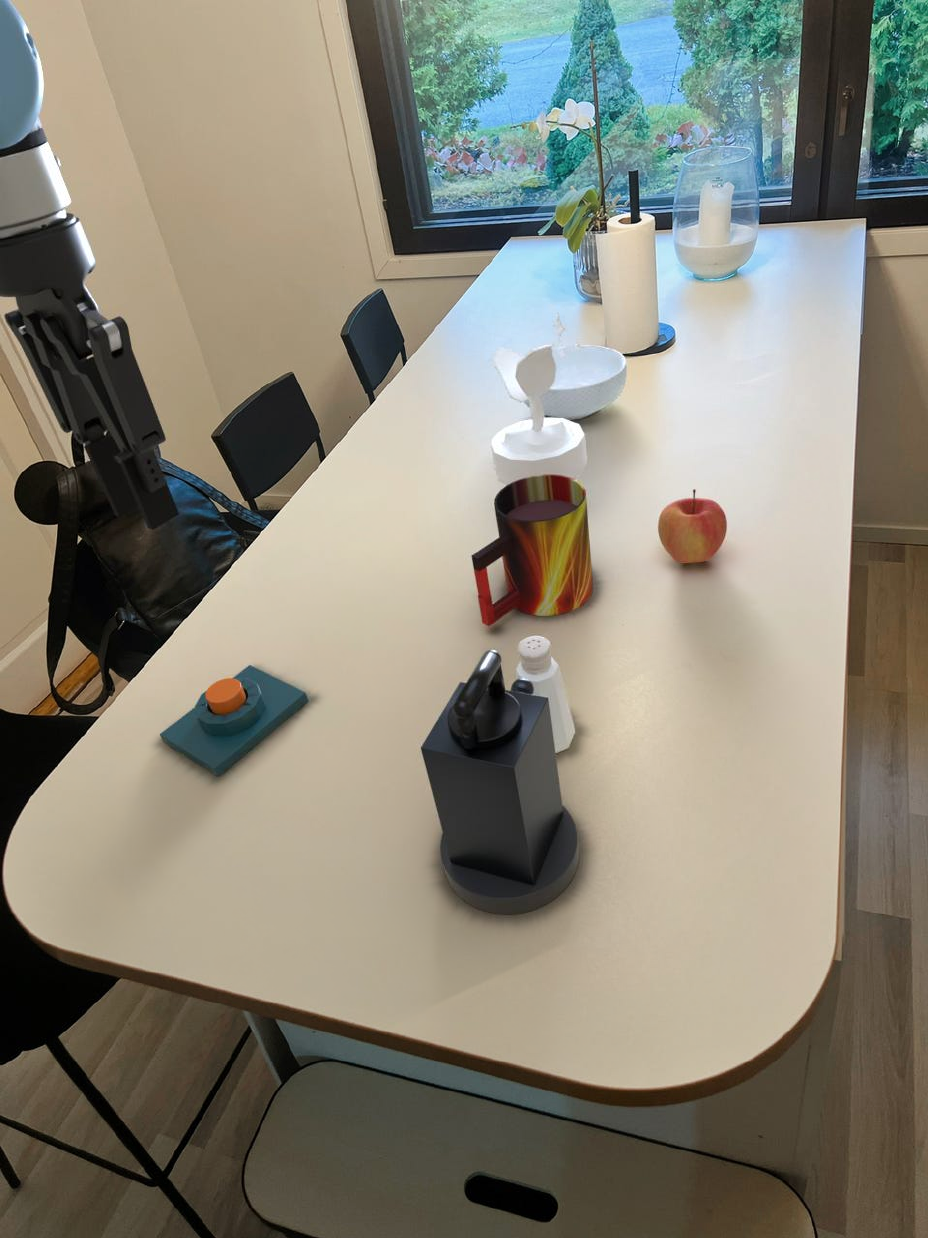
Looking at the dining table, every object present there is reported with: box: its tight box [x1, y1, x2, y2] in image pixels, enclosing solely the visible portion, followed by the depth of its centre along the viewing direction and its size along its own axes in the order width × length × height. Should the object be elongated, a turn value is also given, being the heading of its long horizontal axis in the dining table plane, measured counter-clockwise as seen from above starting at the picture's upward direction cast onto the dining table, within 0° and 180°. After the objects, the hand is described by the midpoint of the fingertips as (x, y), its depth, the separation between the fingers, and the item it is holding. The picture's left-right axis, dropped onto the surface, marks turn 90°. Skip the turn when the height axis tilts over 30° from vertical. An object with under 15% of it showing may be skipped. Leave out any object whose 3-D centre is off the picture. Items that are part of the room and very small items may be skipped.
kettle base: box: [439, 804, 580, 915], centre depth 70 cm, size 11×11×2 cm
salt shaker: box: [515, 635, 577, 754], centre depth 77 cm, size 5×5×11 cm
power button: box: [205, 677, 246, 715], centre depth 87 cm, size 4×4×2 cm
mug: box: [471, 475, 594, 628], centre depth 93 cm, size 10×14×12 cm
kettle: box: [420, 649, 563, 885], centre depth 65 cm, size 11×7×17 cm, turn 157°
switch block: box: [159, 664, 309, 778], centre depth 88 cm, size 12×9×3 cm
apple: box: [657, 488, 728, 564], centre depth 96 cm, size 7×7×8 cm
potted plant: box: [490, 313, 588, 486], centre depth 106 cm, size 13×12×25 cm
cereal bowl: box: [523, 344, 628, 421], centre depth 132 cm, size 17×17×7 cm
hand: (146, 514), depth 74 cm, fingers open, 4 cm apart
